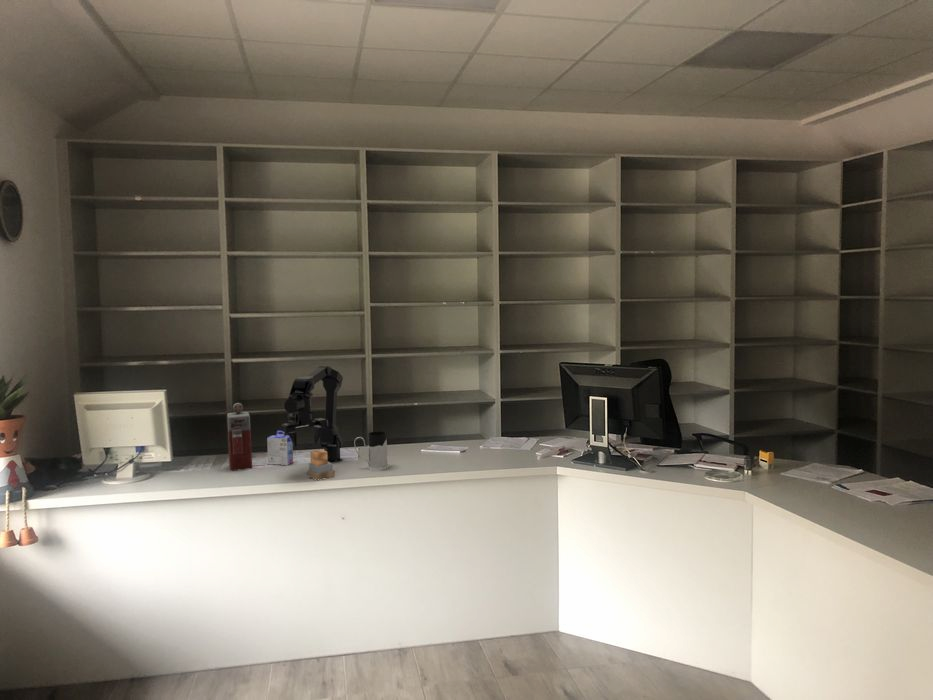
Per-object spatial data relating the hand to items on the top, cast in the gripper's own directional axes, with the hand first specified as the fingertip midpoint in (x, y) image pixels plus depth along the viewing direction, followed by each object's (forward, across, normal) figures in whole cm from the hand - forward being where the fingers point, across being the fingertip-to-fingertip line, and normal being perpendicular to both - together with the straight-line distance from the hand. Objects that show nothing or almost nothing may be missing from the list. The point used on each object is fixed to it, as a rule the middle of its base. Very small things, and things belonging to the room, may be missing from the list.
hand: (305, 445), depth 278 cm
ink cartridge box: (+12, +1, -23) cm, 26 cm away
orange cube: (+6, -2, +8) cm, 10 cm away
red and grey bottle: (+12, +17, -28) cm, 35 cm away
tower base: (+12, -3, +8) cm, 15 cm away
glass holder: (+12, -25, +11) cm, 30 cm away
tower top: (+10, -3, +8) cm, 13 cm away
